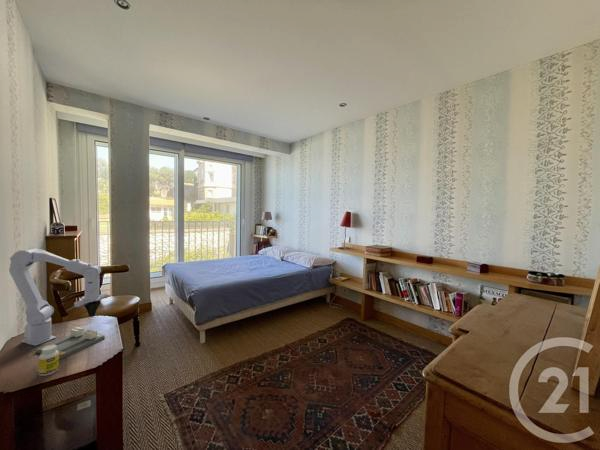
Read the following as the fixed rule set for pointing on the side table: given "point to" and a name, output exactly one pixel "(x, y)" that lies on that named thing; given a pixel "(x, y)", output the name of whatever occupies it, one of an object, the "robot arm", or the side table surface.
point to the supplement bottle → (48, 360)
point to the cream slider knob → (77, 331)
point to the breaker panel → (72, 344)
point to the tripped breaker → (90, 334)
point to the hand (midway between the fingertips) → (91, 316)
